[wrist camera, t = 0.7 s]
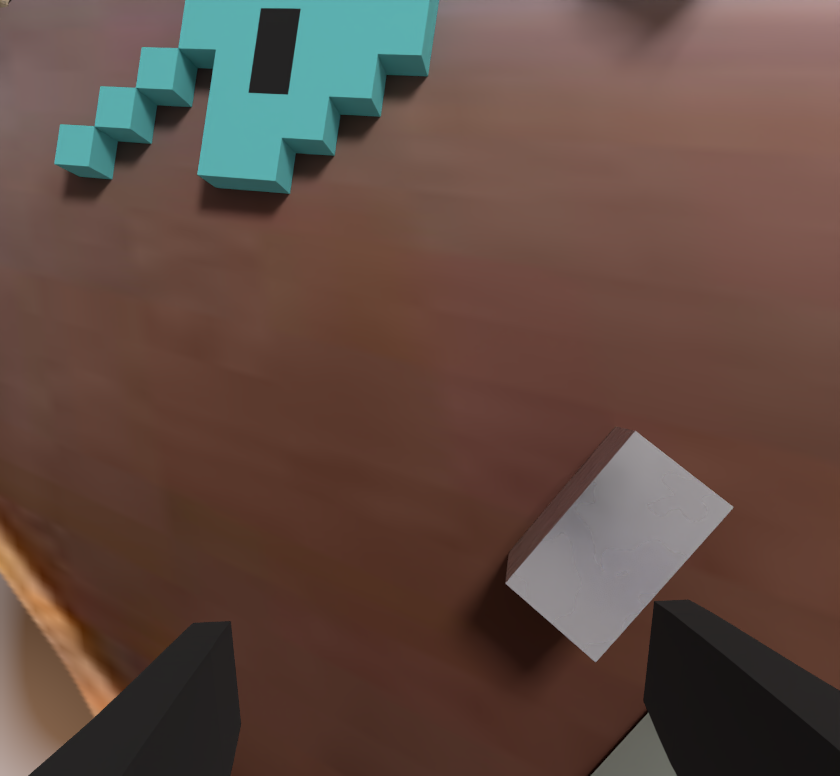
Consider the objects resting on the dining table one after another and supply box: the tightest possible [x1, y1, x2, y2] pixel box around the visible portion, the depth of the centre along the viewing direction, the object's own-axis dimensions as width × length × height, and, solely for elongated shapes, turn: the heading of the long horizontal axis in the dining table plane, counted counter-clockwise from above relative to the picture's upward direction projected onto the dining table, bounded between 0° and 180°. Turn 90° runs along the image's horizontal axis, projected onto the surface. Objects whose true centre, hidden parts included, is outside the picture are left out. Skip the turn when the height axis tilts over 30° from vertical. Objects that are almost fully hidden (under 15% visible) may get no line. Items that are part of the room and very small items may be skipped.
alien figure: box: [54, 0, 439, 194], centre depth 30 cm, size 20×2×20 cm
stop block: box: [505, 427, 734, 662], centre depth 24 cm, size 4×8×5 cm, turn 141°
